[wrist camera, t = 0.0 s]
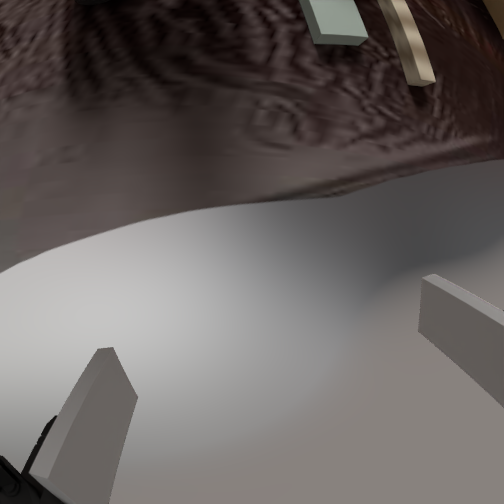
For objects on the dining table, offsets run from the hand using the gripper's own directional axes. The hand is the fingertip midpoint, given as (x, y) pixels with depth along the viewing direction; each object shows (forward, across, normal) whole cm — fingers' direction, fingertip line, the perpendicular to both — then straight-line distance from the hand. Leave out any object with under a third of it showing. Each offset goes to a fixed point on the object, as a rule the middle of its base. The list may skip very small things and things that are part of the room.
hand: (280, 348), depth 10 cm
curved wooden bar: (+30, +35, +31) cm, 56 cm away
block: (+31, +21, +31) cm, 48 cm away
